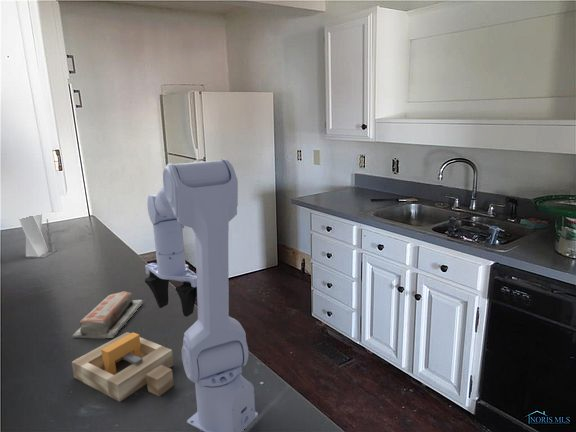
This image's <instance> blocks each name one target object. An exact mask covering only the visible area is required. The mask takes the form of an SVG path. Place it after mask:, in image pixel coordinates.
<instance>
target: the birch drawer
mask: <svg viewBox="0 0 576 432" xmlns="http://www.w3.org/2000/svg"><path fill="white" fill-rule="evenodd" d="M131 333H132V332H129V331H126V332H125V333H123V334H121V335H119V336H117V337H114V338H113V339H111V340H110V341H107V342H106V343H104V344H102V345H99V346H98V347H96V348H94V349H92V350H90V351H89V352H87V353H86V354H83V355H81V356H80V357H77V358H76V359H74V360H73V361H71V366H72V372H73V377H74V378H75V380H76V379H77V380H78V381H79V382H82V383H83V384H85V385H88V386H89V387H91V388H93V389H94V390H97V391H98V392H100V393H102V394H104V395H106V396H108V397H110V398H111V399H114V400H115V401H117V402H119V403H120V402H122V401H123V400H125V399H126V398H127V397H129V396H131V395H132V394H133V393H135V392H137V391H139V390H140V389H141V388H143V387H144V386H146V385H147V379H146V374H148V373H149V372H151V371H152V370H154V369H155V368H157V367H158V366H160V365H163V366H165V367H168V368H170V369H171V367H173V366H174V364H175V363H174V357H173V356H174V355H173V349H171V348H169V347H165V346H164V345H161V344H158V343H156V342H154V341H151V340H149V339H146V338H143V337H141V336H140V344H141V346H140V351H141V358H140V357H138V356H136V355H134V354H131V353H130V352H129V353H127V354H126V355H124V356H122V357H121V358H119V359H117V360H116V361H115V364H117V363H119V362H120V361H122V360H123V361H126V362H128V363H130V365H128V366H126V367H125V368H124V369H122V370H120V371H118V372H116V373H117V374H115V375H112V374H110V373H108V372H106V371H105V366H104V361H103V358H102V352H101V349H103V348H105V347H107V346H109V345H110V344H112V343H114V342H116V341H118V340H120V339H121V338H123V337H125V336H127V335H129V334H131Z"/></svg>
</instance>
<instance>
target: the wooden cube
mask: <svg viewBox="0 0 576 432" xmlns="http://www.w3.org/2000/svg"><path fill="white" fill-rule="evenodd" d="M173 376H174V375H173V369H172V368H171V367H170V368H168V367H165V366H163V365H160V366H158V367H157V368H155V369H154V370H152V371H151V372H149V373H148V374H146V379H147V384H146V387H147V391H148V392H149V393H151V394H153V395H155V396H157V397H160V396H162V395H164V394H165V393H166V392H167V391H169V390H170V389H171V388H173V386H174V377H173Z"/></svg>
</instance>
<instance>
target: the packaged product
mask: <svg viewBox="0 0 576 432" xmlns="http://www.w3.org/2000/svg"><path fill="white" fill-rule="evenodd" d="M141 304H142V305H143V299H133V293H131V292H128V291H121V292H120V291H119V292H116V293H111V294H108V295H107V296H106V297H105V298H104V299H103V300H102V301H100V302H99V304H97V305H96V306H95V307H94V308H93V309H91V311H89V313H88V314H86V315H85V316H84V317H83V318H81V320H80V321H79V326H80V328H78V329H77V330H76V331H75V332H73V334H72V336H71V337H72V338H73V339H105V338H113V339H115V338H116V336H117V335H118V333H119V332H120V331H121V330H122V329H123V328H124V327H125V326H126V325H127V323H128V322H129V321H130V320H131V319H132V318H133V317H132V316H134V315H135V314H136V313H137V312H138V310H139V309H140V308H141V307H140V306H142V305H141ZM139 307H140V308H139ZM138 308H139V309H138ZM137 309H138V310H137ZM136 311H137V312H136ZM135 312H136V313H135ZM134 313H135V314H134ZM133 314H134V315H133ZM131 317H132V318H131ZM130 318H131V319H130ZM129 319H130V320H129ZM128 320H129V321H128ZM127 321H128V322H127ZM126 322H127V323H126ZM124 325H125V326H124ZM123 326H124V327H123ZM122 327H123V328H122ZM121 328H122V329H121ZM120 329H121V330H120ZM119 330H120V331H119ZM118 331H119V332H118ZM115 335H116V336H115Z"/></svg>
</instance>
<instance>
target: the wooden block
mask: <svg viewBox="0 0 576 432" xmlns="http://www.w3.org/2000/svg"><path fill="white" fill-rule="evenodd" d="M130 333H131V334H129V335H127V336H125V337H123V338H121V339H120V340H118V341H116V342H114V343H112V344H110V345H109V346H107V347H105V348H103V349H101V352H102V358H103V361H104V366H105V370H104V371H106V372H108V373H110V374H112V375H115V374H117V373H118V372H117V366H116V363H115V361H116V360H117V359H119V358H121V357H122V356H124V355H126V354H127V353H129V352H130V353H131V354H134V355H136V356H138V357H140V358H142V357H141V351H140V346H141V344H140V337H141V335H140V334H139V333H135V332H130Z"/></svg>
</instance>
